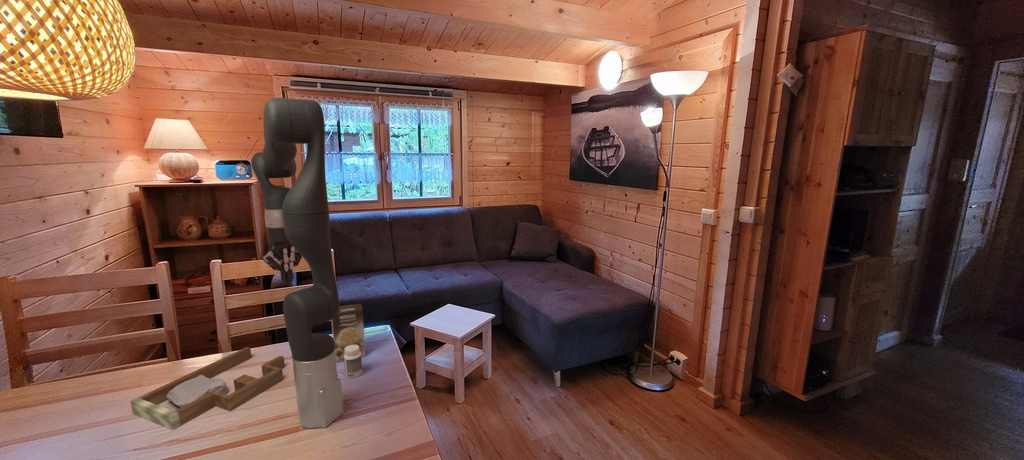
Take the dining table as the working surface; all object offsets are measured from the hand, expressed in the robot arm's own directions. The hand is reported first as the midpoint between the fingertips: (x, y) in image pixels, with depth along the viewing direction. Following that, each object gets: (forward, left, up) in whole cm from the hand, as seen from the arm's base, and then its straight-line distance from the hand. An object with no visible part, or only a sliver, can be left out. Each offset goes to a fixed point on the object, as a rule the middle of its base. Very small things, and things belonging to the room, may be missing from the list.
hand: (287, 282), depth 114 cm
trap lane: (+8, +17, -27) cm, 33 cm away
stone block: (+11, +22, -27) cm, 37 cm away
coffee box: (-10, -11, -27) cm, 31 cm away
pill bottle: (-19, -3, -27) cm, 33 cm away
